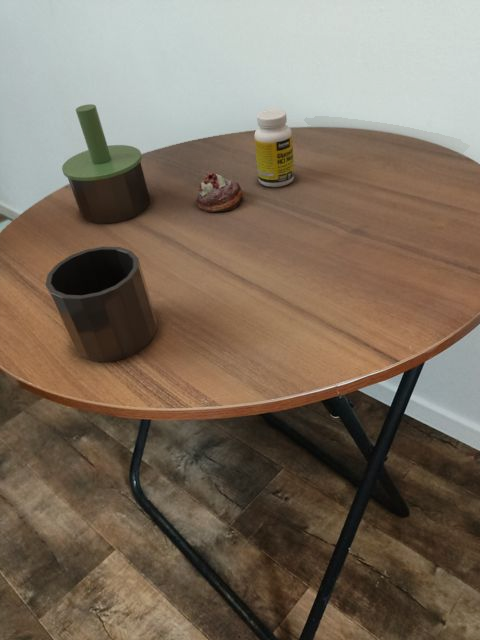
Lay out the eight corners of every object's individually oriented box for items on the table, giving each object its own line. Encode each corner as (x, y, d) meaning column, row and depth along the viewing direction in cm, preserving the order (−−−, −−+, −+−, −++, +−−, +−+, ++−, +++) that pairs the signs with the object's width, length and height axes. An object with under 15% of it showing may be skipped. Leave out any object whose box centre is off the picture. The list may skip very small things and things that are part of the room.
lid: (50, 184, 81) (26, 123, 74) (86, 152, 90) (67, 95, 83) (124, 184, 78) (106, 121, 72) (154, 151, 87) (140, 92, 81)
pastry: (189, 201, 87) (183, 172, 84) (227, 187, 90) (223, 158, 87) (212, 218, 82) (207, 188, 79) (252, 202, 85) (249, 172, 81)
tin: (69, 223, 85) (53, 179, 80) (99, 191, 94) (86, 150, 89) (134, 224, 83) (121, 179, 78) (159, 191, 91) (149, 149, 86)
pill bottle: (283, 190, 87) (278, 122, 79) (252, 185, 90) (244, 119, 82) (301, 175, 90) (297, 109, 83) (270, 171, 93) (264, 106, 86)
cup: (58, 359, 60) (28, 296, 54) (96, 306, 67) (72, 245, 61) (139, 365, 58) (116, 300, 52) (168, 310, 65) (151, 247, 59)
